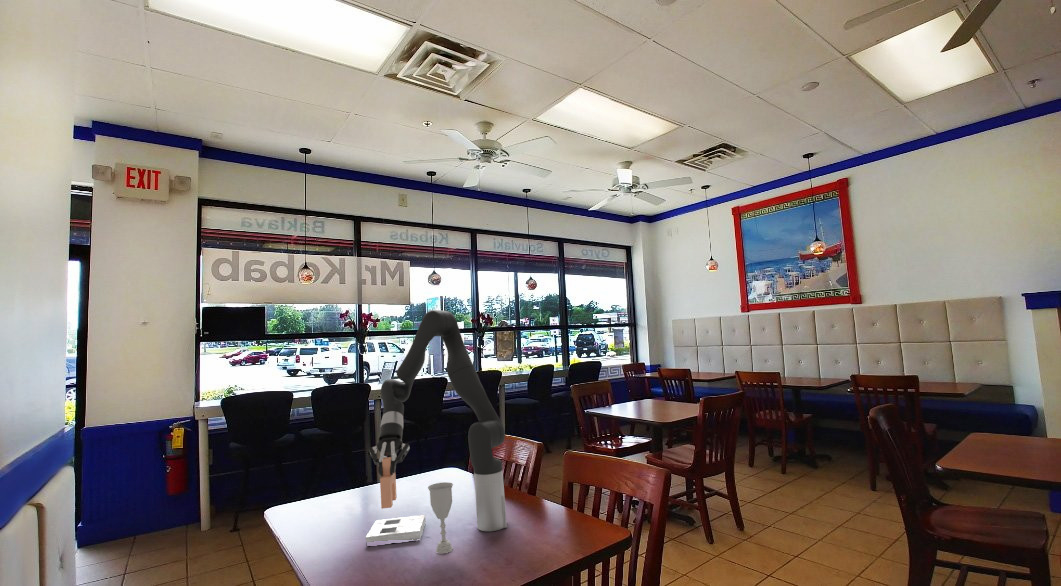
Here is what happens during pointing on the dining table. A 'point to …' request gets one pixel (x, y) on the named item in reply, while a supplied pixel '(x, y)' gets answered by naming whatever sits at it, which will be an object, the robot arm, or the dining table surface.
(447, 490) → the chalice
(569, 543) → the dining table surface
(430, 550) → the dining table surface
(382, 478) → the clip
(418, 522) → the plate
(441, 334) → the robot arm
